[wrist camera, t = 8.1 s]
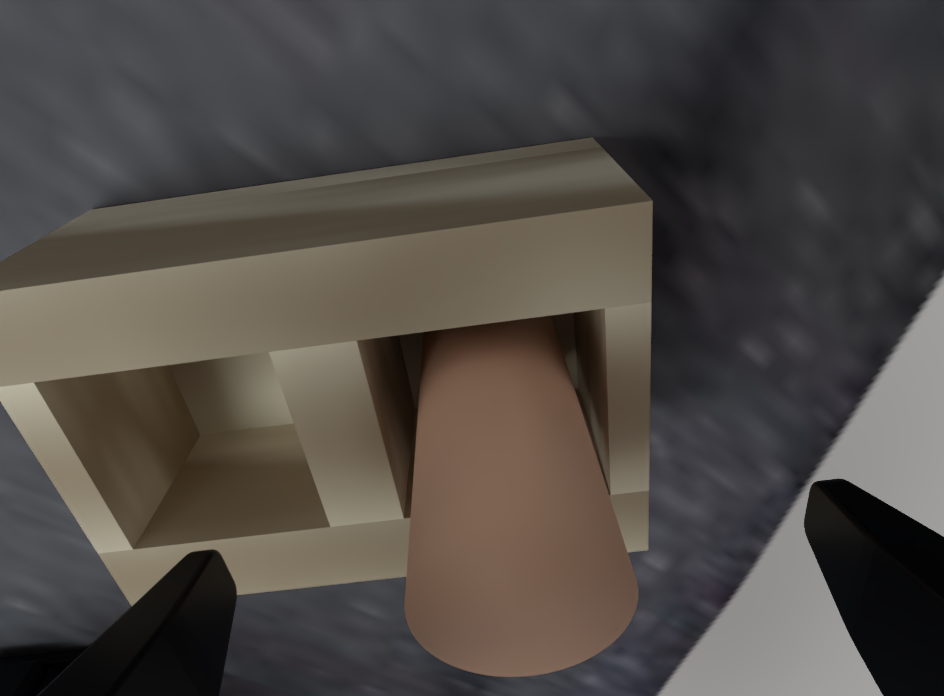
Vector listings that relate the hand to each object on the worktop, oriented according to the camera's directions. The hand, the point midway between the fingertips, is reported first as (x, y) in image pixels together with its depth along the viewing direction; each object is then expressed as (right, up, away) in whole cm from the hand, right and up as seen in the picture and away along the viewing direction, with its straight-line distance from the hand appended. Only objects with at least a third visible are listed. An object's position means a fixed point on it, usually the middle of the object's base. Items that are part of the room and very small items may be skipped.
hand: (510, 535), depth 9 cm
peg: (0, +3, +6) cm, 7 cm away
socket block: (-3, +3, +7) cm, 8 cm away
